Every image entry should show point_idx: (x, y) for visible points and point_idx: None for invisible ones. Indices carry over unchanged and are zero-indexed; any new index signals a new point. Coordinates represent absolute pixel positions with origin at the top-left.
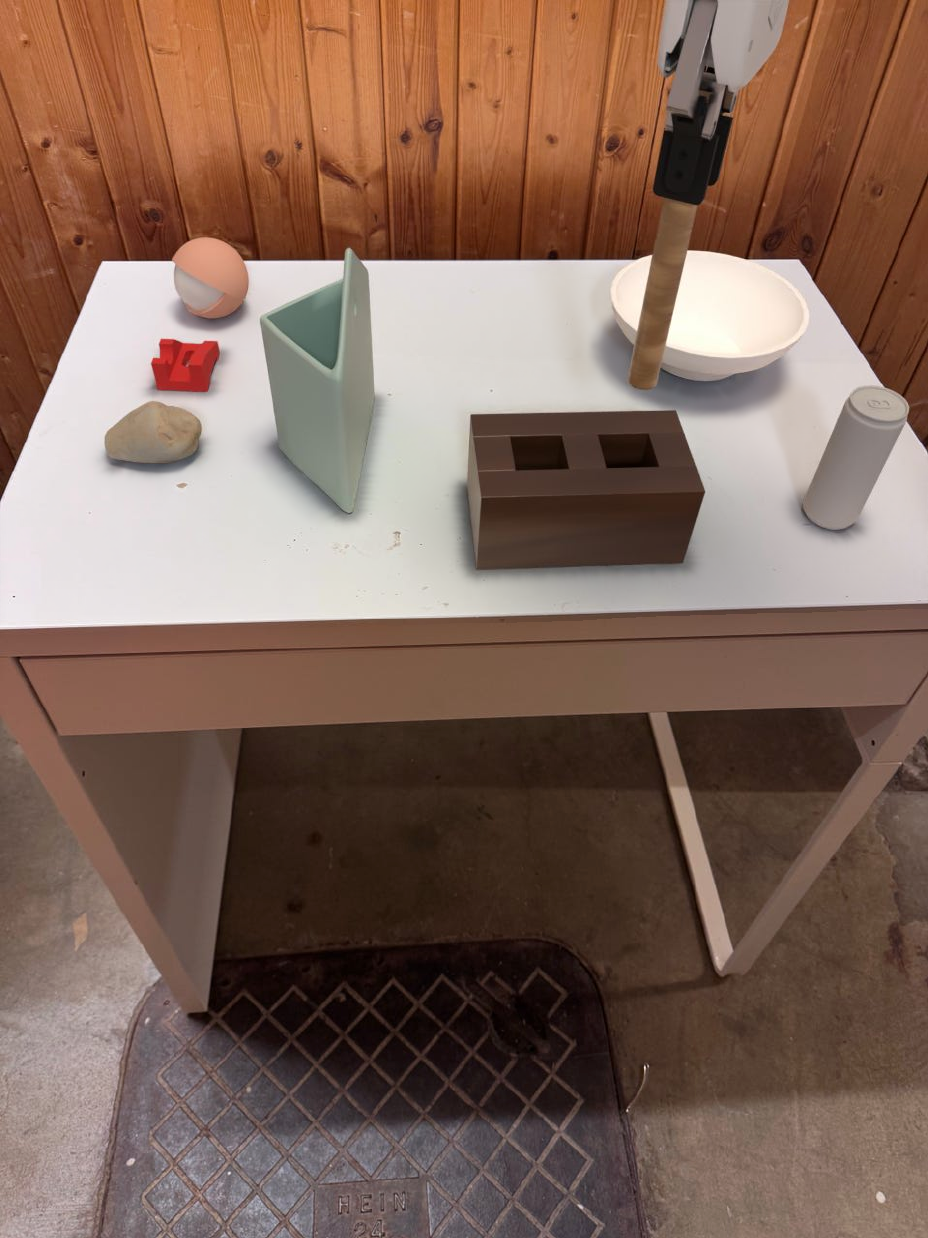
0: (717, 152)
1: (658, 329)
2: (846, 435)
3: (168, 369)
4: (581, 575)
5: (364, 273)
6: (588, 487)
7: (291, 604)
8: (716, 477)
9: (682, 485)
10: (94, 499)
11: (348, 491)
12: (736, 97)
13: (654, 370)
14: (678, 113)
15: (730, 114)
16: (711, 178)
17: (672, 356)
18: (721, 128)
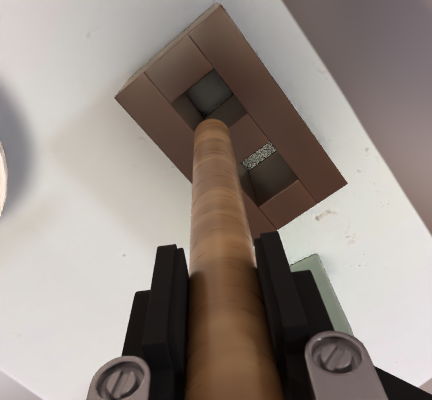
0: (181, 293)
1: (231, 153)
2: None
3: None
4: (283, 76)
5: None
6: (285, 113)
7: (414, 232)
8: (81, 29)
9: (227, 31)
10: (385, 367)
11: (323, 267)
12: (94, 390)
13: (222, 128)
14: None
15: (132, 356)
16: (183, 257)
17: (2, 148)
18: (178, 337)
